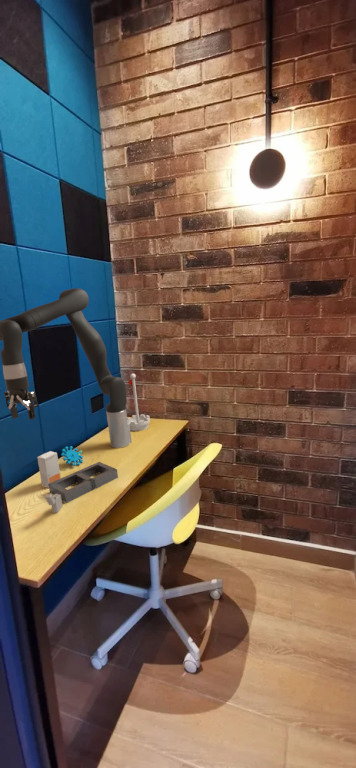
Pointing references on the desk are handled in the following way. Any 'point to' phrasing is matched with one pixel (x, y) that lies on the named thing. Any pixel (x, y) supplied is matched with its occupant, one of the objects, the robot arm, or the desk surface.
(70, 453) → the blue virus model
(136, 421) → the flag stand
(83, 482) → the cinder block
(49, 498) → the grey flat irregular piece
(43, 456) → the skincare box
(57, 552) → the desk surface
